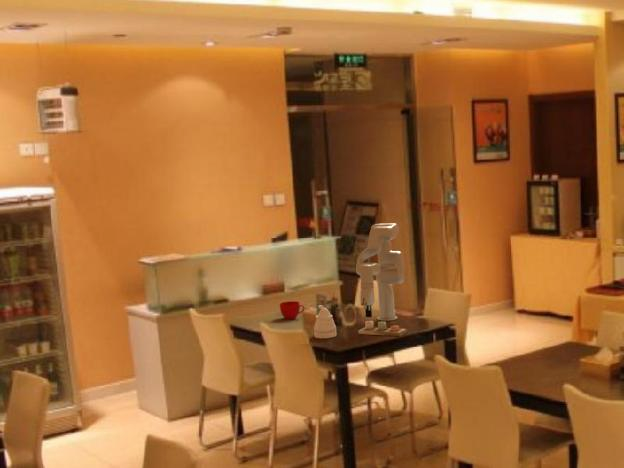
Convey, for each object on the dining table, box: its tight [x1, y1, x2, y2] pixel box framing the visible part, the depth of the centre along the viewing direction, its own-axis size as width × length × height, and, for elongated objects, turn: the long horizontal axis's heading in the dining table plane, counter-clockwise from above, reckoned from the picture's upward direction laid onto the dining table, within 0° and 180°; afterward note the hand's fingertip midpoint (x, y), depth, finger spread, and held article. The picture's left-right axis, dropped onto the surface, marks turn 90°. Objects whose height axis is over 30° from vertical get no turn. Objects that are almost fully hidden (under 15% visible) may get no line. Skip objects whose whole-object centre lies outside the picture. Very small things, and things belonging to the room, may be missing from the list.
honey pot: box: [313, 304, 337, 339], centre depth 504 cm, size 13×13×18 cm
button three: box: [390, 325, 400, 332], centre depth 498 cm, size 5×5×4 cm
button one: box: [364, 320, 375, 329], centre depth 506 cm, size 5×5×4 cm
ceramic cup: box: [279, 300, 305, 320], centre depth 562 cm, size 13×17×10 cm
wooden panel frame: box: [357, 326, 408, 337], centre depth 502 cm, size 10×26×2 cm, turn 61°
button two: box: [377, 321, 387, 330], centre depth 502 cm, size 5×5×4 cm
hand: (368, 316), depth 505 cm, fingers closed
